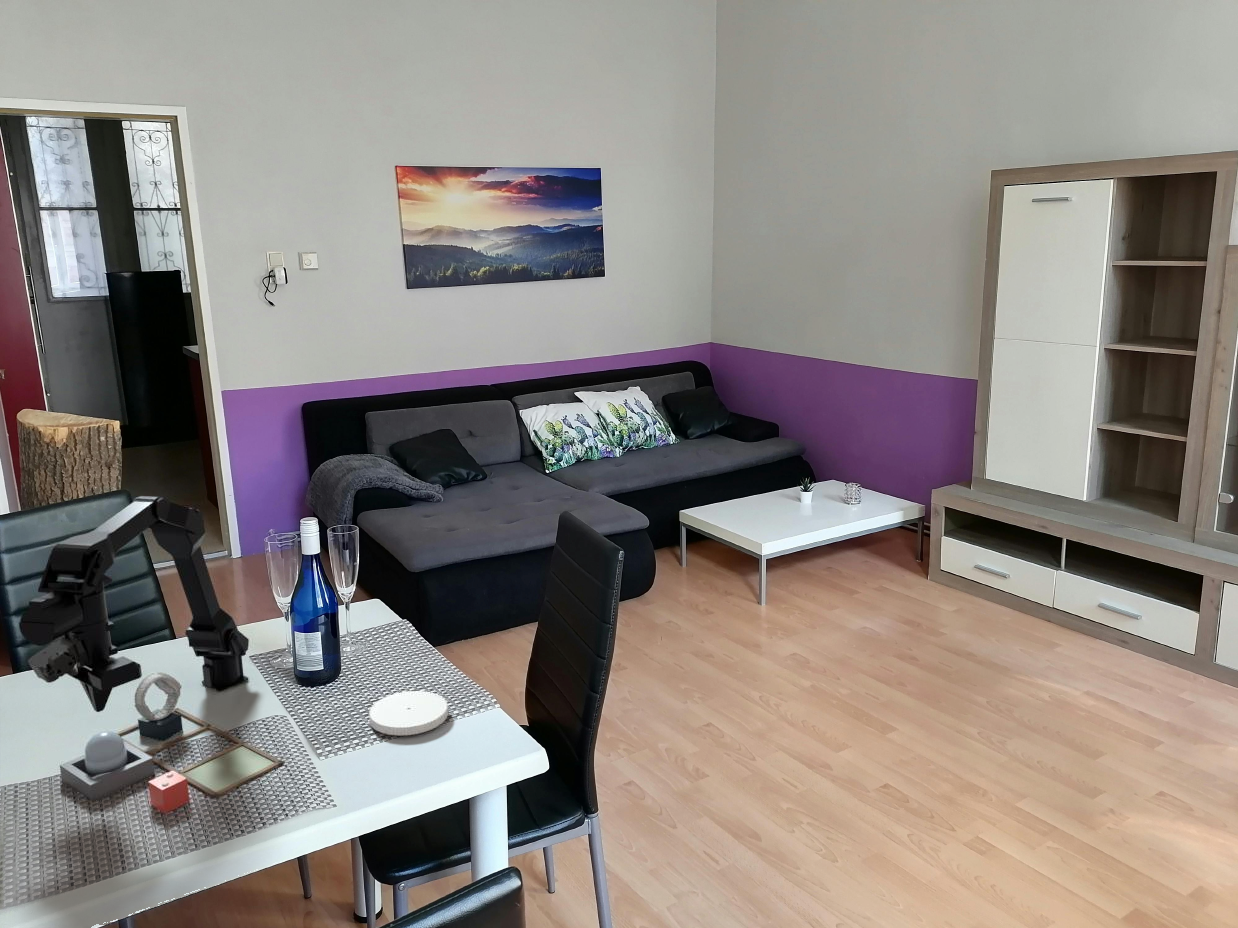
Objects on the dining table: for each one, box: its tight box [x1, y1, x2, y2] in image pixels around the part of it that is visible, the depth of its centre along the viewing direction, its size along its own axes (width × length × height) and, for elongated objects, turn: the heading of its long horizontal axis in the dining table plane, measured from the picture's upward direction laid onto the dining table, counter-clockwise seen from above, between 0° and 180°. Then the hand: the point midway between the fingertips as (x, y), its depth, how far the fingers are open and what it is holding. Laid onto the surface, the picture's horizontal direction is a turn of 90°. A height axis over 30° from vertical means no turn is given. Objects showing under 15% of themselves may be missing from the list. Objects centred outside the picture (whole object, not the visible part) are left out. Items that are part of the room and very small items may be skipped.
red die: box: [147, 771, 191, 814], centre depth 148 cm, size 4×4×4 cm
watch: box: [134, 672, 184, 742], centre depth 169 cm, size 6×8×11 cm
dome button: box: [84, 730, 128, 774], centre depth 154 cm, size 6×6×6 cm
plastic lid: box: [368, 690, 449, 737], centre depth 174 cm, size 14×14×2 cm
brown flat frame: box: [116, 707, 284, 799], centre depth 164 cm, size 13×32×1 cm, turn 54°
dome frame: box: [59, 741, 156, 803], centre depth 155 cm, size 10×10×3 cm
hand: (99, 710), depth 153 cm, fingers closed
